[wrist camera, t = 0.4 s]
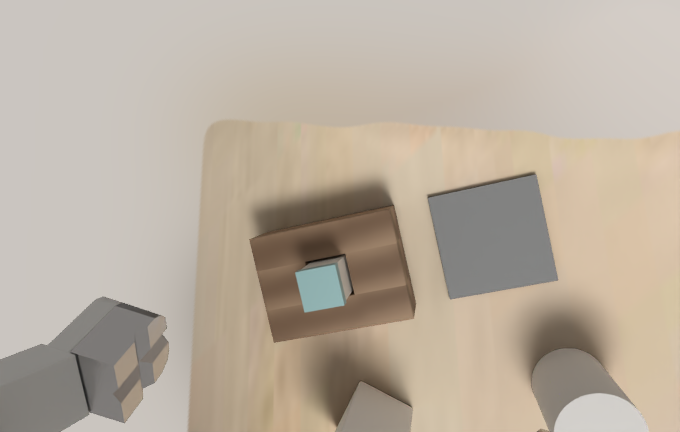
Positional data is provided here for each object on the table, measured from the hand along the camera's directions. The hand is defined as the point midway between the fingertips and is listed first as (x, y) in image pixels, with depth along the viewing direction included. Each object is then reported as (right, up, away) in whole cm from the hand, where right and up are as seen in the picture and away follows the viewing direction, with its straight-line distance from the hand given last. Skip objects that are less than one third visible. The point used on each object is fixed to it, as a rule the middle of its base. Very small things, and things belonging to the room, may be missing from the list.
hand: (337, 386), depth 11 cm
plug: (0, -3, +52) cm, 52 cm away
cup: (+26, -15, +49) cm, 57 cm away
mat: (+17, +1, +49) cm, 52 cm away
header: (0, -3, +52) cm, 52 cm away
